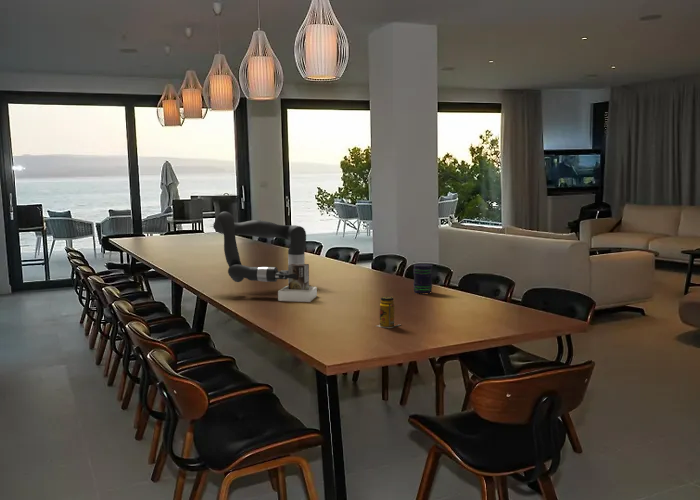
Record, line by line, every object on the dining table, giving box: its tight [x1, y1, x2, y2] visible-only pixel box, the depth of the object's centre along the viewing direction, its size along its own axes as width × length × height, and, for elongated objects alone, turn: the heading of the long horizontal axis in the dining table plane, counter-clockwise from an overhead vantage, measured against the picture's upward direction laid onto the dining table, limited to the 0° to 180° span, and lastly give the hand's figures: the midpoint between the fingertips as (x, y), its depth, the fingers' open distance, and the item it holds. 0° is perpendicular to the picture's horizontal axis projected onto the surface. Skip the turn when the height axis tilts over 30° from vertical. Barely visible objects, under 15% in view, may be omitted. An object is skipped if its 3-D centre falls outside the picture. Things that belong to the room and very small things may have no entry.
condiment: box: [376, 296, 400, 329], centre depth 271 cm, size 7×8×12 cm
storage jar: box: [412, 263, 433, 294], centre depth 347 cm, size 10×10×15 cm
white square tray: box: [277, 285, 318, 303], centre depth 330 cm, size 16×16×5 cm
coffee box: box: [287, 263, 310, 290], centre depth 332 cm, size 9×6×16 cm
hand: (298, 275), depth 332 cm, fingers open, 8 cm apart
